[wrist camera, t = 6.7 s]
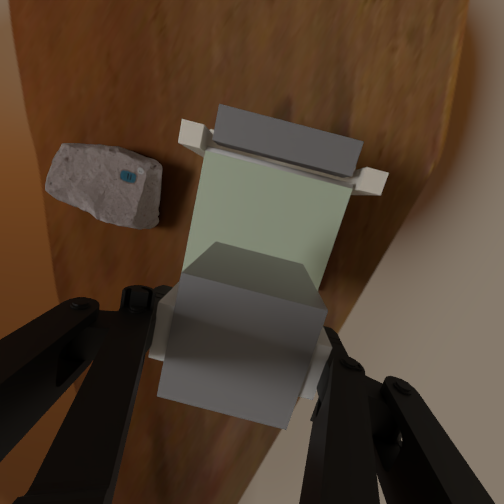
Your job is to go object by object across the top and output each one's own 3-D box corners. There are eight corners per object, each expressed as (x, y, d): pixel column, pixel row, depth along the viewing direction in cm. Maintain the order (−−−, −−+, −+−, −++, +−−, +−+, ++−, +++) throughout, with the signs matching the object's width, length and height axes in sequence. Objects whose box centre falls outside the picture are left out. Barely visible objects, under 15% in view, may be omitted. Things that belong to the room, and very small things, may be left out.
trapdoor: (219, 111, 25) (213, 102, 22) (358, 148, 25) (369, 143, 22) (186, 279, 29) (177, 288, 27) (304, 310, 29) (307, 322, 26)
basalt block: (215, 241, 17) (181, 272, 10) (303, 264, 17) (327, 310, 10) (197, 320, 18) (156, 396, 11) (278, 342, 18) (286, 429, 11)
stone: (176, 166, 35) (157, 160, 29) (159, 231, 37) (138, 238, 31) (85, 134, 35) (47, 121, 29) (73, 200, 37) (36, 201, 31)
